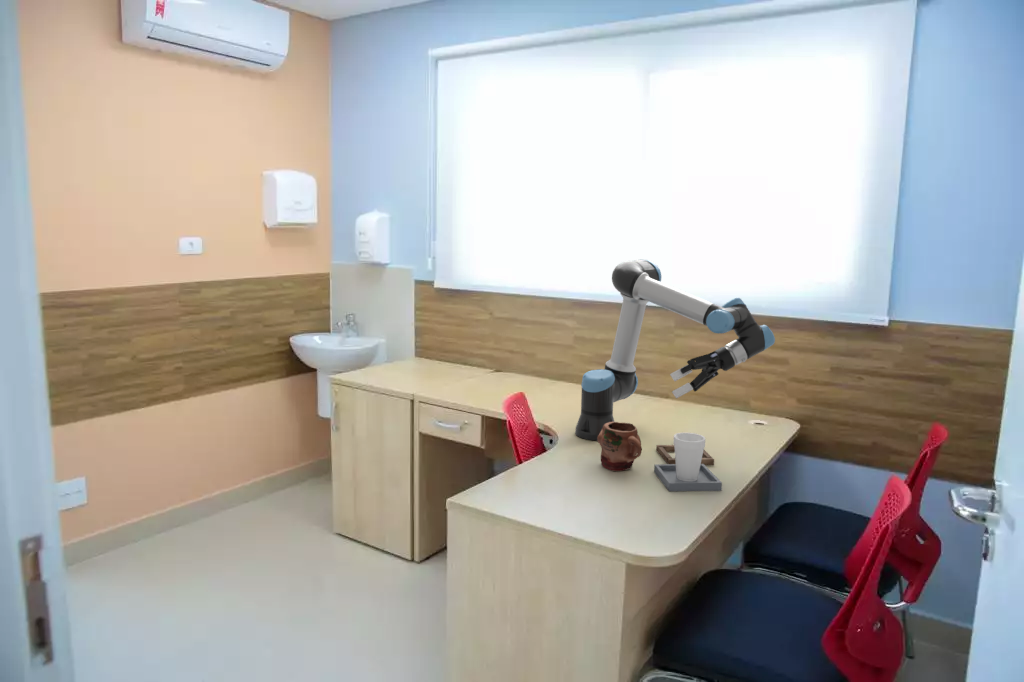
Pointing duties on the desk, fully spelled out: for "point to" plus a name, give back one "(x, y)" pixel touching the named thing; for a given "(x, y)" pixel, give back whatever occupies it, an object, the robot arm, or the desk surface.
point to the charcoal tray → (672, 483)
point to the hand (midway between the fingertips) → (673, 386)
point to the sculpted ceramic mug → (619, 445)
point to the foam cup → (688, 455)
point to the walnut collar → (668, 459)
